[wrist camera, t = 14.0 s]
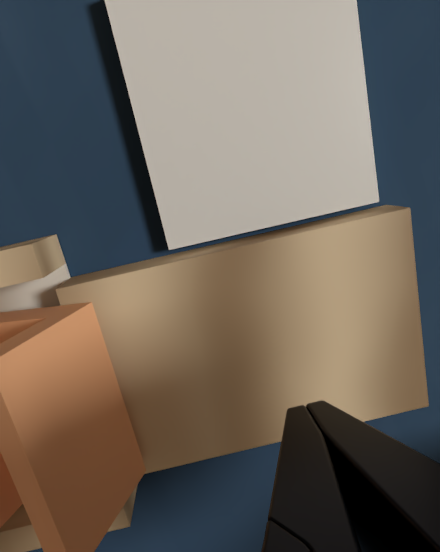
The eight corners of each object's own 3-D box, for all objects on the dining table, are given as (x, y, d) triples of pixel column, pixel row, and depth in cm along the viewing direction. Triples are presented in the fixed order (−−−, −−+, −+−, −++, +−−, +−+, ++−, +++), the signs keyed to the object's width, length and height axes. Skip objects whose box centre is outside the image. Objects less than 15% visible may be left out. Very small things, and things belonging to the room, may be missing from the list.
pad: (340, -55, 11) (348, -68, 11) (370, 201, 13) (379, 201, 12) (105, -3, 11) (100, -14, 11) (169, 246, 13) (169, 249, 12)
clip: (91, 302, 11) (-12, 363, 8) (146, 470, 13) (77, 577, 10) (-16, 314, 13) (-137, 369, 10) (43, 462, 14) (-45, 551, 11)
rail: (381, 160, 13) (414, 156, 11) (409, 417, 15) (440, 451, 13) (-247, 303, 12) (-329, 325, 10) (-114, 542, 15) (-160, 596, 13)
